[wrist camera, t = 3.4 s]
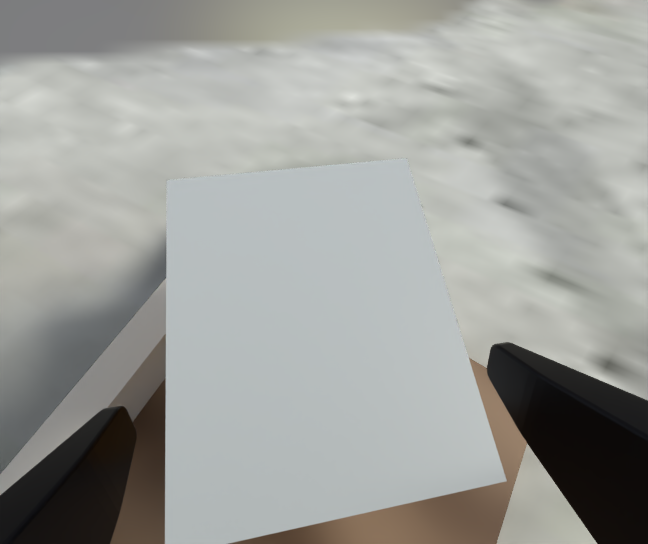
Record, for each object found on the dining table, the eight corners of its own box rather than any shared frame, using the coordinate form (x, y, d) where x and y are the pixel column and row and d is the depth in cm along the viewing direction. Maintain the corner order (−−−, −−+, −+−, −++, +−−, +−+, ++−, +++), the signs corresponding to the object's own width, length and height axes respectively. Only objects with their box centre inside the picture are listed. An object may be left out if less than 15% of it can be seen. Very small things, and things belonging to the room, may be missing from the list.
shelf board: (294, 1121, 9) (293, 1204, 8) (-137, 695, 11) (-176, 723, 10) (526, 399, 16) (540, 399, 16) (236, 230, 19) (233, 221, 18)
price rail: (-128, 771, 10) (-293, 915, 7) (-164, 734, 10) (-336, 860, 8) (267, 241, 18) (261, 212, 15) (241, 226, 18) (230, 194, 15)
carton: (363, 420, 15) (506, 481, 4) (257, 440, 14) (138, 563, 4) (341, 304, 17) (406, 157, 6) (246, 317, 16) (149, 181, 6)
